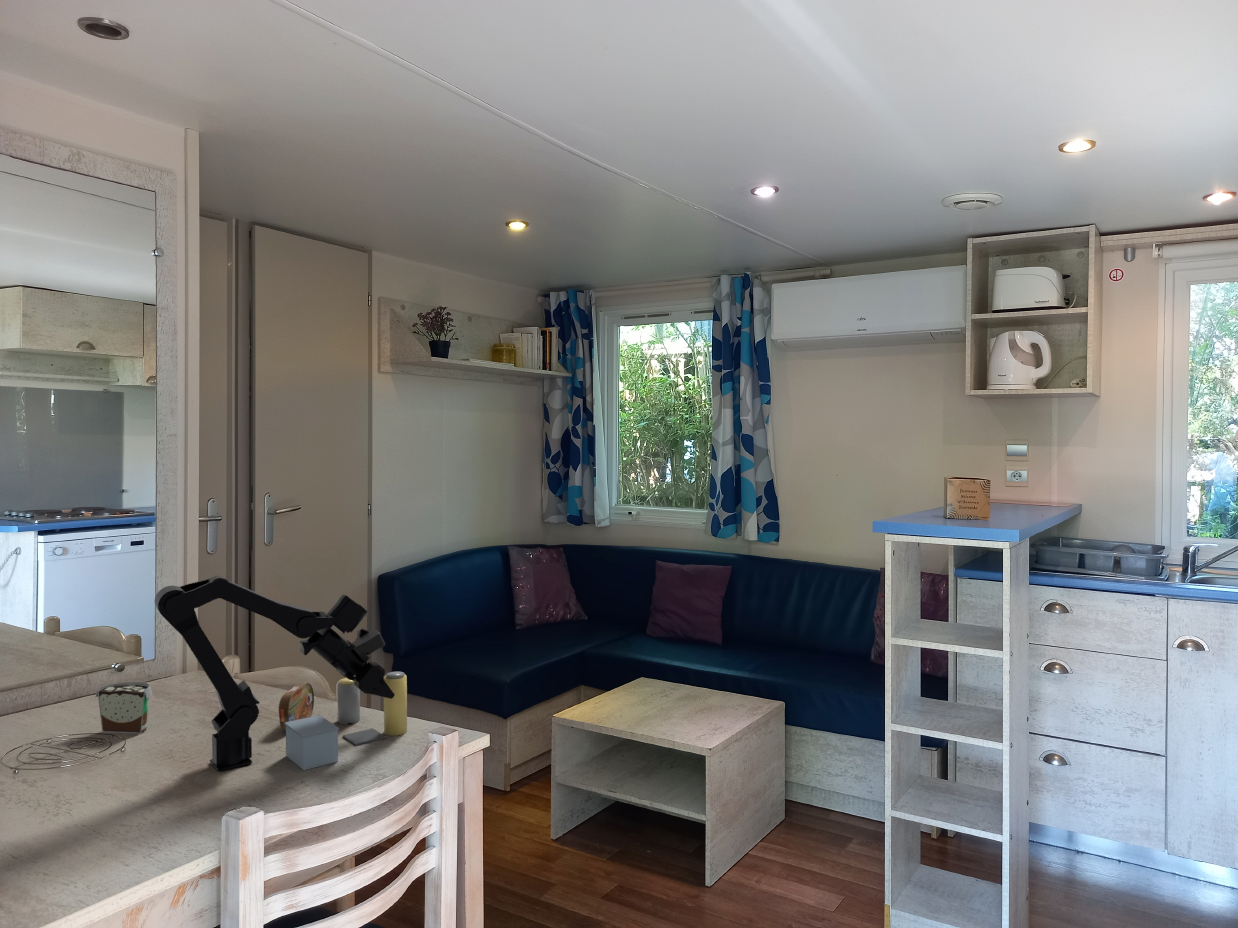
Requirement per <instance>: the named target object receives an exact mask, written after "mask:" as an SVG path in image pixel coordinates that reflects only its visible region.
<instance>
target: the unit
mask: <svg viewBox="0 0 1238 928" xmlns="http://www.w3.org/2000/svg"><path fill="white" fill-rule="evenodd" d="M284 725H285V726H286V730H285V756H286V757H287V759H289V760H291V761H292V762H293V763H294V764H295V765H297V767H299V768H301V769H302V771H307V770H310V769H314V768H317V767H322V766H326V765H330V764H333V763H338V762H339V745H338V744H339V741H338V740H339V739H338V738H339V735H338V734H339V733H338V731H340V727H339V726H337V725H336V724H334V723H332V721H330V720H328V719H326V718H324V716H322V715H320V714H319V715H313V716H310V717H308V718H304V719H299V720H294V721H289V722H285V723H284Z"/></svg>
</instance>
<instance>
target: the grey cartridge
mask: <svg viewBox="0 0 1238 928" xmlns="http://www.w3.org/2000/svg"><path fill="white" fill-rule="evenodd" d="M336 685H337V686H336V687H337V688H336V689H337V691H336V693H337V695H336V696H337V698H336V699H337V723H338V724H339V723H340V725H349V724H348V723H353V724H355V723H354V722H357V721H359V720H360V721H361V690H360V689H359V688H357V687H356V686H355V685H354V681H352V680H349V679H347V678H346V677H343V678H341V679H339V681H338V682H337V684H336ZM360 721H359V722H360ZM357 723H358V722H357Z"/></svg>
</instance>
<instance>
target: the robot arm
mask: <svg viewBox="0 0 1238 928" xmlns="http://www.w3.org/2000/svg"><path fill="white" fill-rule="evenodd" d="M217 599H221V600H224V601H226V602H228V603H231V604H234V605H235V606H238V607H240V608H243V609H245V610H248V611H250V612H252V613H254V614H257V615H259V616H262V617H264V618H266V619H269V620H271V621H272V622H274V623H275V624H277V625H279V626H280V627H281V628H283V629H285V631H287V632H289V633H291V634H292V635H293V636H295V637H296V638H299V639H303V640H300V641H299V644H300V649H299V650H300V653H302V655H304V656H308V654H309V653H310V652H311V651H314V652H315V653H316V654H317V655H318V656H320V657H321V658H322V659H323V660H325V661H326V662H327V663H328V664H330V665H331V666H332V667H333V668H334V669H335V670H336V671H337V672H338V673H339V674H340V675H342V676H343V678H347V679H349V680H352V681H354V685H355V686H356V687H357V688H359V689H360V692H363V694H366V695H373V696H378V697H383V698H384V697H386V698H390V699H392V698H393V697H394V696H395V694H394V693H393V691H392V690H391V689H390V687H389V686H388V685H387V683H386V682H385V680H384V676H385V675H386V669H385V668H384V667H382V665H380V664H379V663H377V662H376V661H369V659H370V657H369V656H368V655H371V654H372V653H374V652H375V651H377V650H379V649H382V648H384V647H385V646H386V642H385V640H384V639H383V637H382V635H381V632H380V631H378V630H376V629H370V630H367V629H366V628H365V627H362V628H360V629H359V630H357V631H356V635H357V636H356V638H355V640H354V641H352V642H351V641H349V640H348V639H347V640H346V639H345V638H344V637H343V636H341V634H339V633H338V632H336V631H335V630H334V628H335V629H337V630H338V631H339V632H340V633H342V634H343V635H345V634H346V633H347V634H349V633H350V634H352V633H353V631H354V630H355V629H356V628H357V627H358V625H359V624H360V623H361V622H362V621H364V619H365V618H366V617H367V616H368V615H369V611H368V610H366V609H365V608H364V607H363V606H362V605H361V604H359V603H358V602H356V601H355V600H353V599H352V598H350V597H349V596H348V595H347V594H344V593H343V594H342V595H341V596H339V598H338V600H337V602H336V603H335V604H334V605H333V606H332V608H331V609H330V610H329V611H328V612H326V611H314V610H313V611H311V610H310V609H308V608H306V607H304V606H300V605H296V604H292V603H286V602H281V601H278V600H277V601H276V600H275V599H272V598H269V597H268V596H265V595H262V594H260V593H258V592H255V591H253V590H252V589H248V588H247V587H244V586H242V585H239V584H237V583H235V582H233V581H230V580H228V579H227V578H225V577H224V576H221V575H214V576H211V577H210V578H207V579H204V580H203V579H202V580H200V581H199V580H198V581H194V582H191V583H187V584H184V585H180V586H179V585H178V586H177V585H166V586H165V587H162V588H161V589H159V590H158V592H157V593H156V595H155V597H154V605H155V607H156V609H157V611H158V612H159V614H160V615H161V616H162V617H163V618H164V619H165V621H167V622H168V624H169V625H171V627H172V628H174V629H175V630H176V632H178V633H179V634H180V635H181V636H182V638H183V640H184V641H185V643H186V645H187V646H188V648H189V649H190V651H191V653H192V654H193V655H194V657H195V659H196V660H197V661H198V664H199V665H200V667H201V668H202V670H203V671H204V673H205V674H206V676H207V677H208V679H209V681H210V682H211V684H212V686H213V687H214V689H215V691H216V694H217V695H216V696H217V698H218V701H219V703H220V707H221V710H219V712H218V713H217V714H216V715H215V716H214V717H213V718H212V719H211V723H212V726H213V728H214V730H215V731H216V733H213V734H211V746H212V748H211V749H212V750H211V751H212V752H211V754H212V755H211V756H212V757H211V758H212V759H210V760H209V763H210V765H212V767H214V768H215V769H216V771H218V772H221V771H222V772H223V771H226V770H229V769H233V768H234V769H235V768H238V767H243V766H247V765H252V764H253V760H252V759H251V758H252V757H253V754H252V753H253V751H252V749H253V745H252V742H253V740H252V737H251V736H250V729H251V726H252V725H253V724H254V723H255V722H256V721H257V719H258V717H259V714H260V709H259V707H258V705H259V704H260V700H258V699H257V697H256V696H255V695H254V693H253V692H252V691H253V690H251V689H252V688H251V687H250V686H249V684H248V682H246V680H242V681H241V682H239V683H238V682H236V680H235V679H234V678H233V676H232V675H231V674H230V673H231V672H229V671H228V669H227V667H226V665H225V664H224V662H223V661H222V659H221V658H220V655H219V654H218V653H217V651H216V650H215V648H214V646H213V645H212V643H211V642H210V640H209V639H208V637H207V635H206V633H205V632H204V630H203V629H202V626H201V625H200V623H199V620H198V616H197V613H196V609H197V608H199V607H202V606H205V605H206V604H209V603H211V602H212V601H215V600H217ZM333 627H334V628H333ZM368 661H369V662H368Z"/></svg>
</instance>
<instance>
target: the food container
mask: <svg viewBox="0 0 1238 928" xmlns="http://www.w3.org/2000/svg"><path fill="white" fill-rule="evenodd" d="M152 696H153V691H152V687H151V686H150V683H148V682H145V681H126V682H125V681H124V682H117V683H110V684H105V685H103V686H100V687H97V690H95V698H97V699H98V707H99V714H100V715H99V717H100V725H101V733H110V734H112V733H114V734H135V735H137V734H139V735H141V734H143V733H144V732H146V730H147V724H148V723H147V722H148V710H149V699H150V697H152Z"/></svg>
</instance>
